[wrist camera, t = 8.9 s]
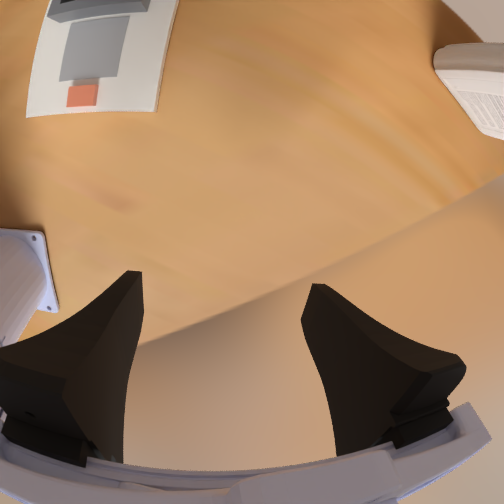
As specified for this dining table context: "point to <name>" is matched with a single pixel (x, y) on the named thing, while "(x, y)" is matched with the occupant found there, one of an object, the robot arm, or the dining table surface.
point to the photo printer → (475, 82)
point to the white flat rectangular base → (100, 56)
